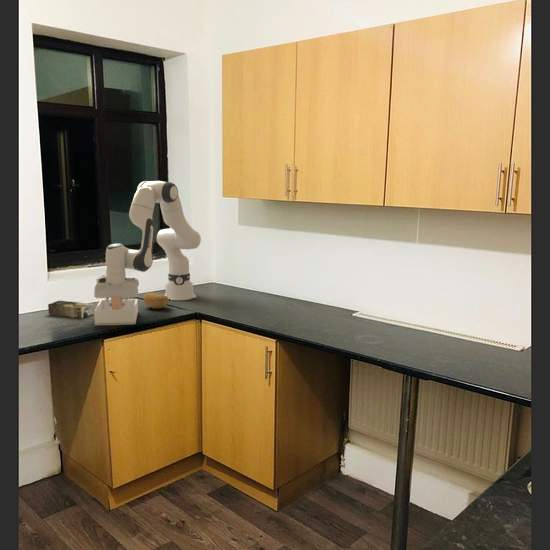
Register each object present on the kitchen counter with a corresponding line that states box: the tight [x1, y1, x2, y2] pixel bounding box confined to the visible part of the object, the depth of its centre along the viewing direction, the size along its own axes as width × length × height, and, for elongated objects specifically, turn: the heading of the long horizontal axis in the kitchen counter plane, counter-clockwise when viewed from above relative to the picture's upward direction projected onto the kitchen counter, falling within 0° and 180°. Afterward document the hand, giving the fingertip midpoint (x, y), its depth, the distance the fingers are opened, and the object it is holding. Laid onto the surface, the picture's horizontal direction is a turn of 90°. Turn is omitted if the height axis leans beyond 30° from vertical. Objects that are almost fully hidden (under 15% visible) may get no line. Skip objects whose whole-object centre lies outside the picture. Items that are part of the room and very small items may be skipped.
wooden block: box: [110, 297, 123, 310], centre depth 264 cm, size 5×5×8 cm
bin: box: [93, 298, 139, 326], centre depth 265 cm, size 22×18×7 cm
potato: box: [143, 292, 169, 310], centre depth 287 cm, size 10×14×8 cm
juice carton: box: [47, 300, 94, 319], centre depth 272 cm, size 20×10×6 cm, turn 76°
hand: (117, 306), depth 265 cm, fingers closed on wooden block, 5 cm apart
